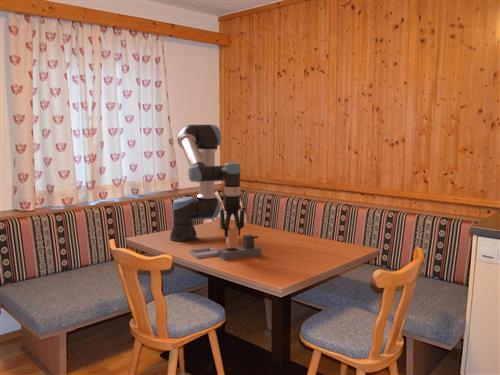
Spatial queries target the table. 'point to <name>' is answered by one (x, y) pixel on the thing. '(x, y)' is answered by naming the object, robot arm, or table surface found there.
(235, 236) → the plug
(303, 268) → the table surface
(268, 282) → the table surface
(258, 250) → the strip
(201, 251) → the tray
